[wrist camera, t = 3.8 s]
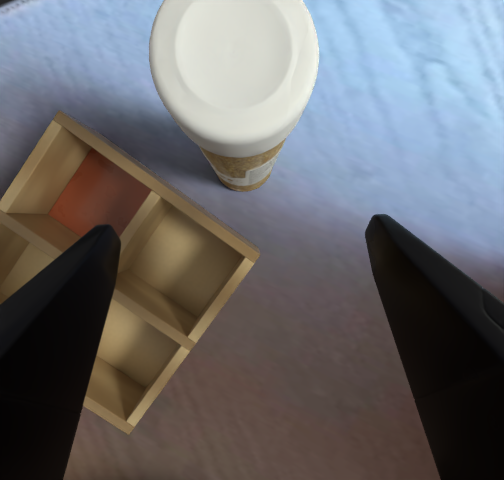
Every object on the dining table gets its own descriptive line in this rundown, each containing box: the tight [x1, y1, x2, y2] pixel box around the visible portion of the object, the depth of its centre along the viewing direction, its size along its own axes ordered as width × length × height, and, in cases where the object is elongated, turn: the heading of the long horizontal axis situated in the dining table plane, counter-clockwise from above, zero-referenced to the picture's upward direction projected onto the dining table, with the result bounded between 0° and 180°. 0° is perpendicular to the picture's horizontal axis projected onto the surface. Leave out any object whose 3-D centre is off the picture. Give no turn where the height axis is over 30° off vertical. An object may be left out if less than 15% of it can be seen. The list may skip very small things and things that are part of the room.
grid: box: [0, 110, 260, 435], centre depth 19 cm, size 15×15×4 cm
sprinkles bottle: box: [149, 0, 319, 192], centre depth 13 cm, size 5×5×14 cm
